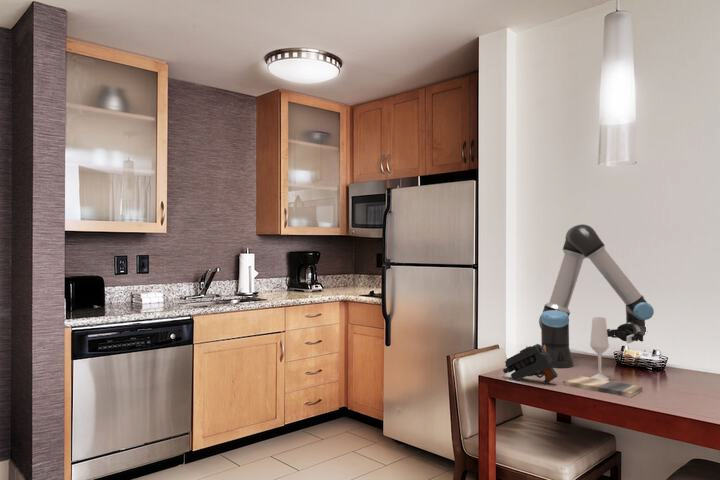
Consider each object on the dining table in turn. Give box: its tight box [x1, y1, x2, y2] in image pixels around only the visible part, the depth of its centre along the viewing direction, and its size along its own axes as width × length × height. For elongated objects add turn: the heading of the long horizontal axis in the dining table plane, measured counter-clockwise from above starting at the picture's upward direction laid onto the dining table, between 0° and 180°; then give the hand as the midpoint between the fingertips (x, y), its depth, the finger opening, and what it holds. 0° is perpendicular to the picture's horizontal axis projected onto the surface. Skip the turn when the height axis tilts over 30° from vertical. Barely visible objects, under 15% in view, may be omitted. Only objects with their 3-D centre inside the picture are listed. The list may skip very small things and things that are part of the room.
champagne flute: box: [590, 316, 610, 381], centre depth 206 cm, size 7×7×24 cm
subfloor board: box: [562, 374, 643, 398], centre depth 191 cm, size 24×12×2 cm, turn 44°
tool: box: [502, 343, 559, 385], centre depth 202 cm, size 6×19×15 cm
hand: (609, 338), depth 212 cm, fingers open, 13 cm apart
